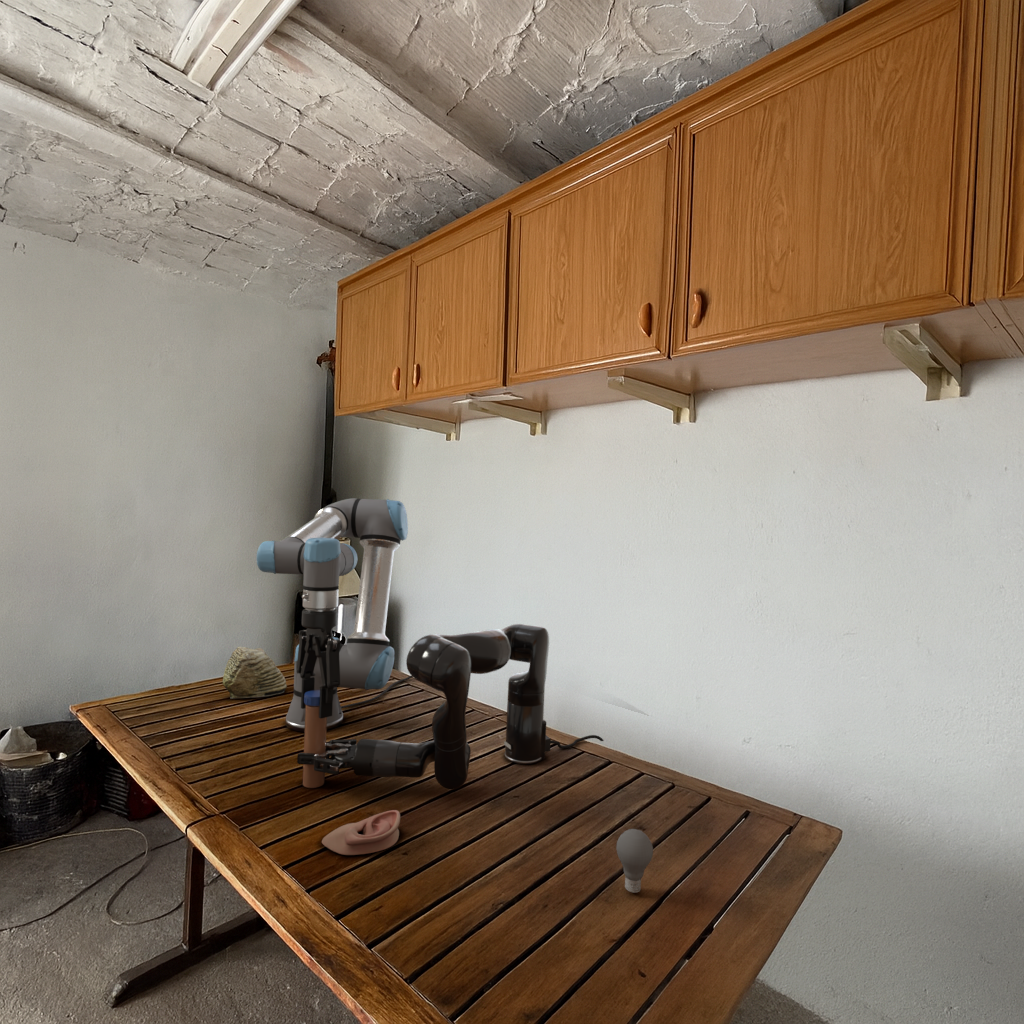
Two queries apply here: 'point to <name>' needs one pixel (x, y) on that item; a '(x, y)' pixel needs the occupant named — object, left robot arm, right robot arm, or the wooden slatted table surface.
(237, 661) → the fossil
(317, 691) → the lid
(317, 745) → the brown tube
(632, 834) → the light bulb
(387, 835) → the anatomical model
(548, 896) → the wooden slatted table surface
